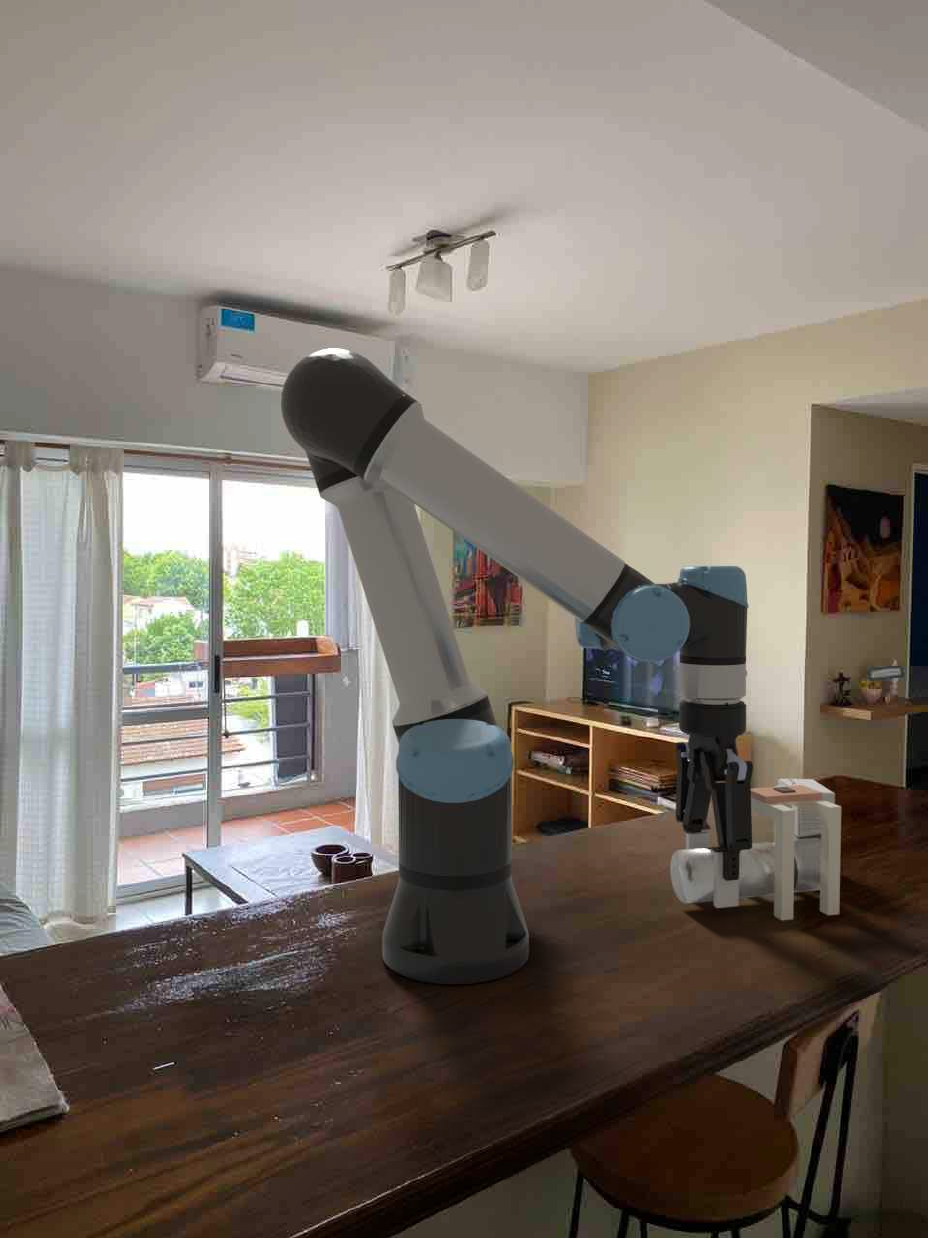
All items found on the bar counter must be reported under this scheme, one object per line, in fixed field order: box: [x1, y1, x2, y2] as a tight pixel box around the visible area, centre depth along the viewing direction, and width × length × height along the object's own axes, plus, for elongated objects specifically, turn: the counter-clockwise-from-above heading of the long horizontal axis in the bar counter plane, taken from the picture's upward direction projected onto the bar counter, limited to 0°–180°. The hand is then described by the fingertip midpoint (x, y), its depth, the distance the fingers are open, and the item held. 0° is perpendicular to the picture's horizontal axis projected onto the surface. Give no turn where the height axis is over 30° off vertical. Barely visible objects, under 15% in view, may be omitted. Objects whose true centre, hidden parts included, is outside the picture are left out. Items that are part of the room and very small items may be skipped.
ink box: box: [777, 778, 836, 840], centre depth 122 cm, size 9×5×12 cm, turn 179°
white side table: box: [751, 785, 842, 921], centre depth 112 cm, size 8×11×14 cm
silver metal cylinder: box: [669, 838, 821, 904], centre depth 111 cm, size 18×6×6 cm, turn 104°
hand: (711, 895), depth 110 cm, fingers closed on silver metal cylinder, 6 cm apart
